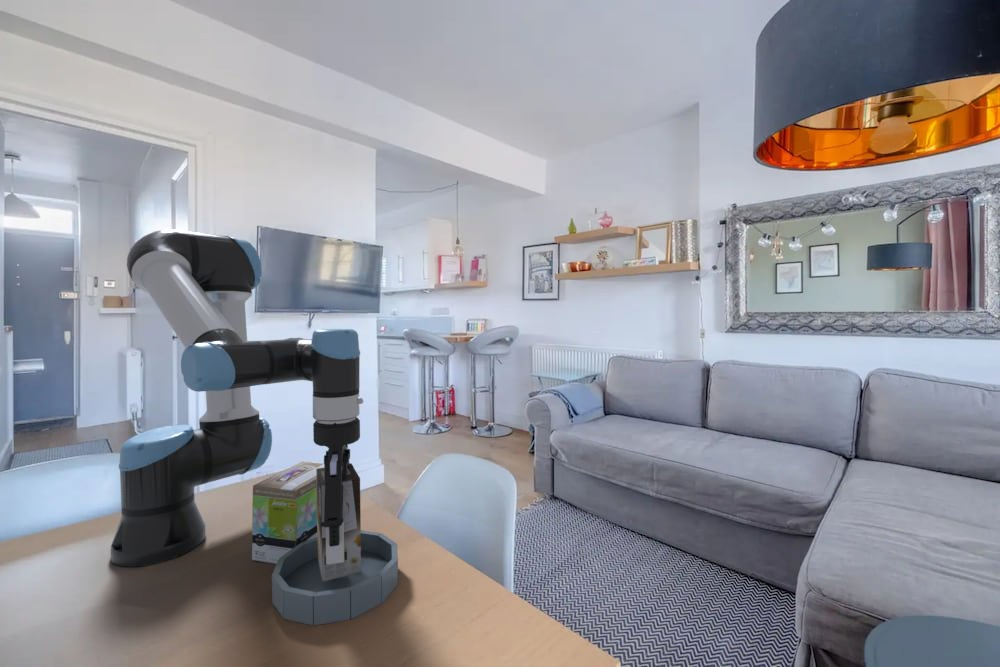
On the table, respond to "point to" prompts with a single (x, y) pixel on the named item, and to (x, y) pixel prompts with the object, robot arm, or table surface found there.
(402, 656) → the table surface
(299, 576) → the bowl
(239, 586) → the table surface
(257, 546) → the tea box
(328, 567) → the coffee box
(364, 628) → the table surface
